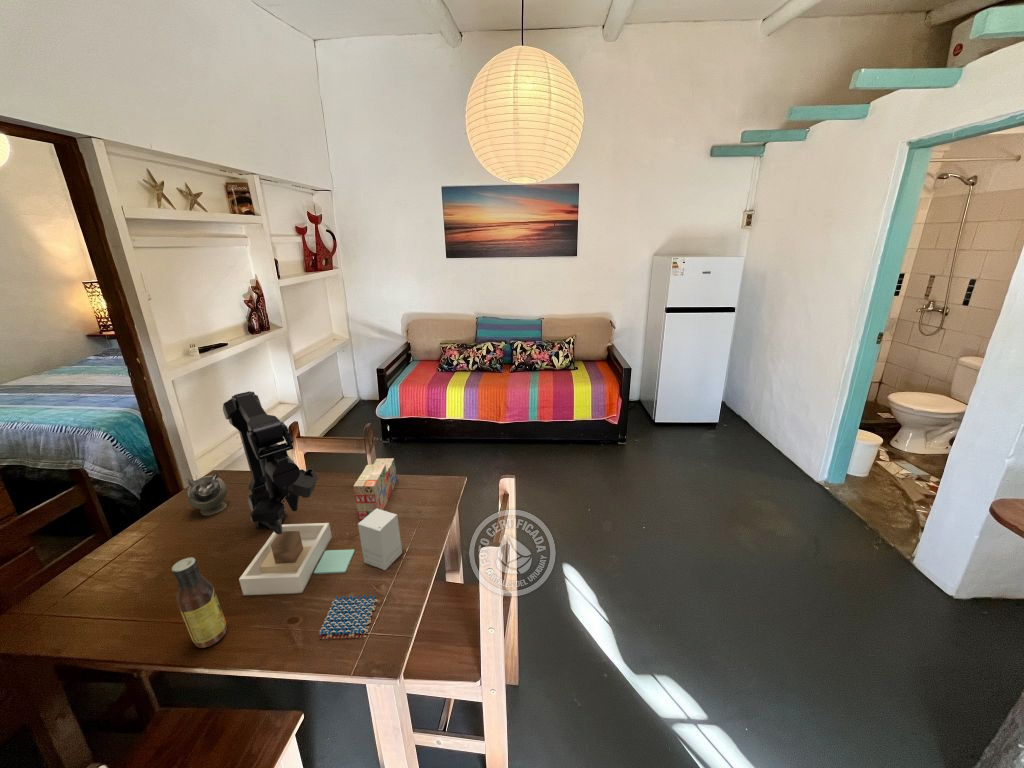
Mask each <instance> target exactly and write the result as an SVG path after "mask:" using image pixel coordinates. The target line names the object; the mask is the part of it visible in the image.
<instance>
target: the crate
mask: <svg viewBox="0 0 1024 768" xmlns="http://www.w3.org/2000/svg"><path fill="white" fill-rule="evenodd" d="M282 531H299V532H300V536H301V541H302V545H303V551H302V552H301V554H300V556H299V557H298V559H297V561H296V562H295V563H278V564H275V560H274V556H273V552H272V548H271V544H272V542H273V541H274V539H275V538H276V537H277V535H278V534H276V533H275V532H274V531H273V532H272V534H271V535H269V537H268V539H267V540H266V541H265V542H264V545H263V546H262V547H261V548H260V550H259V551H258V552H257V553H256V555H255V556H254V558H253V559H252V561H251V562H250V564H249V565H248V566H247V567H246V569H245V570H244V572H243V573H242V575H240V577H239V578H238V581H239V584H240V588H241V592H242V595H243V596H260V595H263V596H264V595H284V594H302V593H303V592H304V591H305V589H306V586H307V585H308V584H309V582H310V579H311V577H312V575H313V574H314V571H315V569H316V567H317V565H318V564H319V562H320V560H321V558H322V556H323V554H324V552H325V550H326V549H327V547H328V545H329V543H330V541H331V540H332V537H333V536H332V532H331V531H332V530H331V526H330V522H320V523H319V522H318V523H317V522H316V523H315V522H314V523H289V524H288V523H287V524H284V523H283V524H282Z"/></svg>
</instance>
